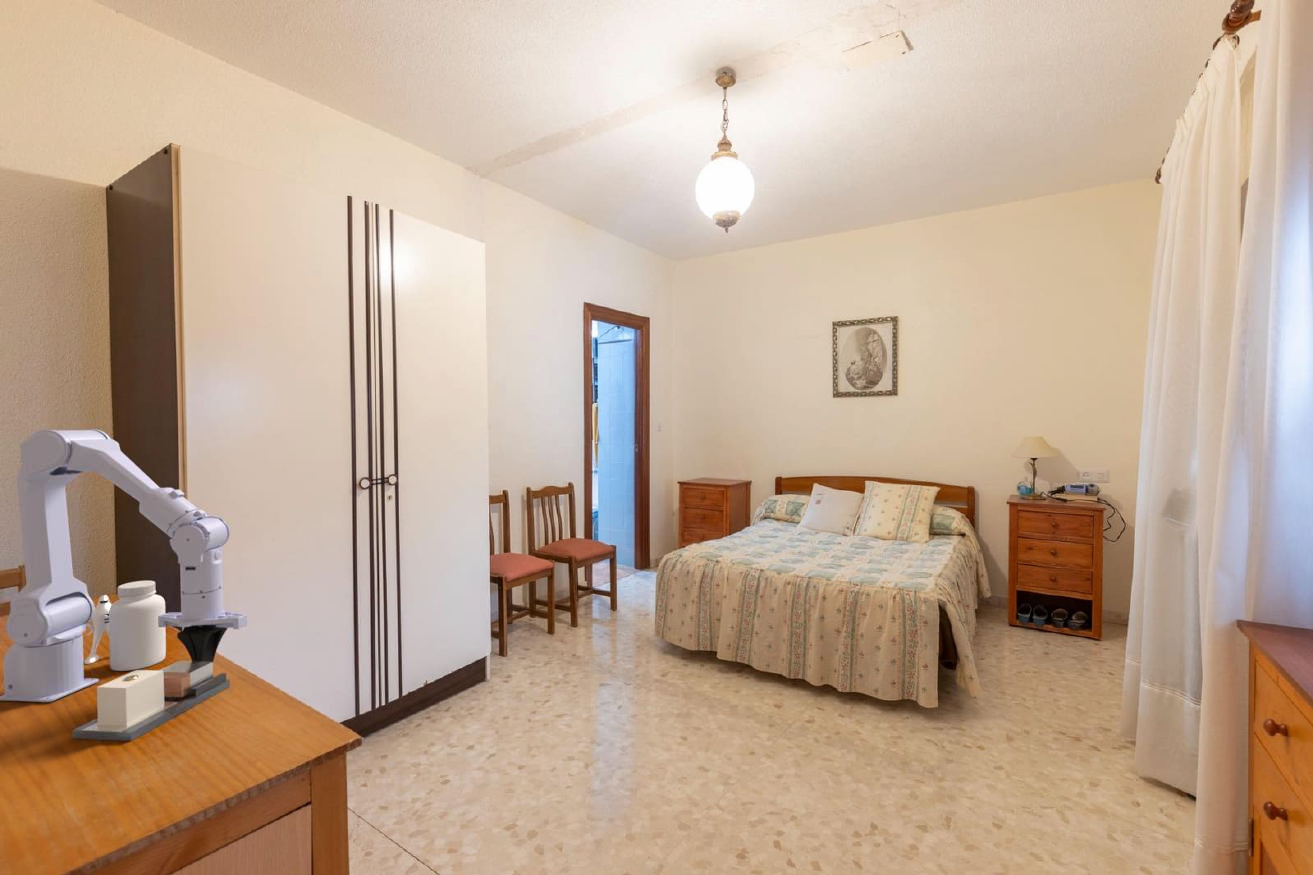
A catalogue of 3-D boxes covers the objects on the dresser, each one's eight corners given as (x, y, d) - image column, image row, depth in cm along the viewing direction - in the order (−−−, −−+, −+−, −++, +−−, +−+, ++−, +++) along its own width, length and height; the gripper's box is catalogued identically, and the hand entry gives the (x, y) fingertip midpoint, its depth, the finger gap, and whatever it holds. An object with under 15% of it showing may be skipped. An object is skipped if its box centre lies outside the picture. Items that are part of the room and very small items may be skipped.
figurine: (78, 666, 111) (77, 601, 110) (80, 659, 114) (78, 597, 113) (130, 656, 115) (128, 594, 115) (130, 650, 118) (128, 590, 118)
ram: (146, 697, 95) (146, 675, 94) (180, 681, 101) (179, 660, 100) (181, 698, 94) (181, 676, 94) (213, 682, 100) (212, 661, 100)
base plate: (72, 738, 85) (72, 721, 85) (180, 684, 102) (180, 671, 102) (131, 741, 84) (130, 724, 84) (229, 686, 102) (229, 672, 102)
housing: (97, 724, 86) (96, 685, 86) (137, 705, 92) (136, 668, 92) (126, 725, 86) (125, 686, 86) (164, 706, 92) (163, 669, 92)
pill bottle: (119, 675, 106) (117, 592, 106) (103, 666, 110) (101, 585, 110) (173, 660, 113) (171, 582, 113) (156, 652, 117) (154, 576, 117)
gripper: (140, 595, 98) (142, 677, 98) (223, 597, 97) (224, 680, 97) (178, 583, 105) (179, 660, 105) (255, 585, 104) (257, 662, 104)
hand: (203, 668), depth 102 cm, fingers closed, pressing on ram
